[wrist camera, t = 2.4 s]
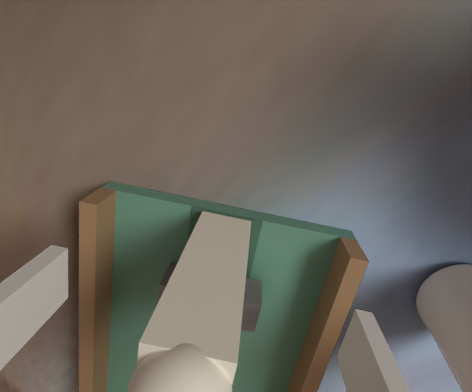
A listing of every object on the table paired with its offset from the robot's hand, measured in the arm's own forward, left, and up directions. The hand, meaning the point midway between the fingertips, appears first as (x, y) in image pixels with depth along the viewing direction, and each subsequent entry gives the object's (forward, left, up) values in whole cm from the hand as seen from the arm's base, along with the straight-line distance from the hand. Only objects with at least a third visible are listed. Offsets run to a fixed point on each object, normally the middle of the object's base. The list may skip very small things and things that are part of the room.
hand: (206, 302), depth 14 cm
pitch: (+10, 0, -7) cm, 12 cm away
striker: (+1, 0, -5) cm, 6 cm away
